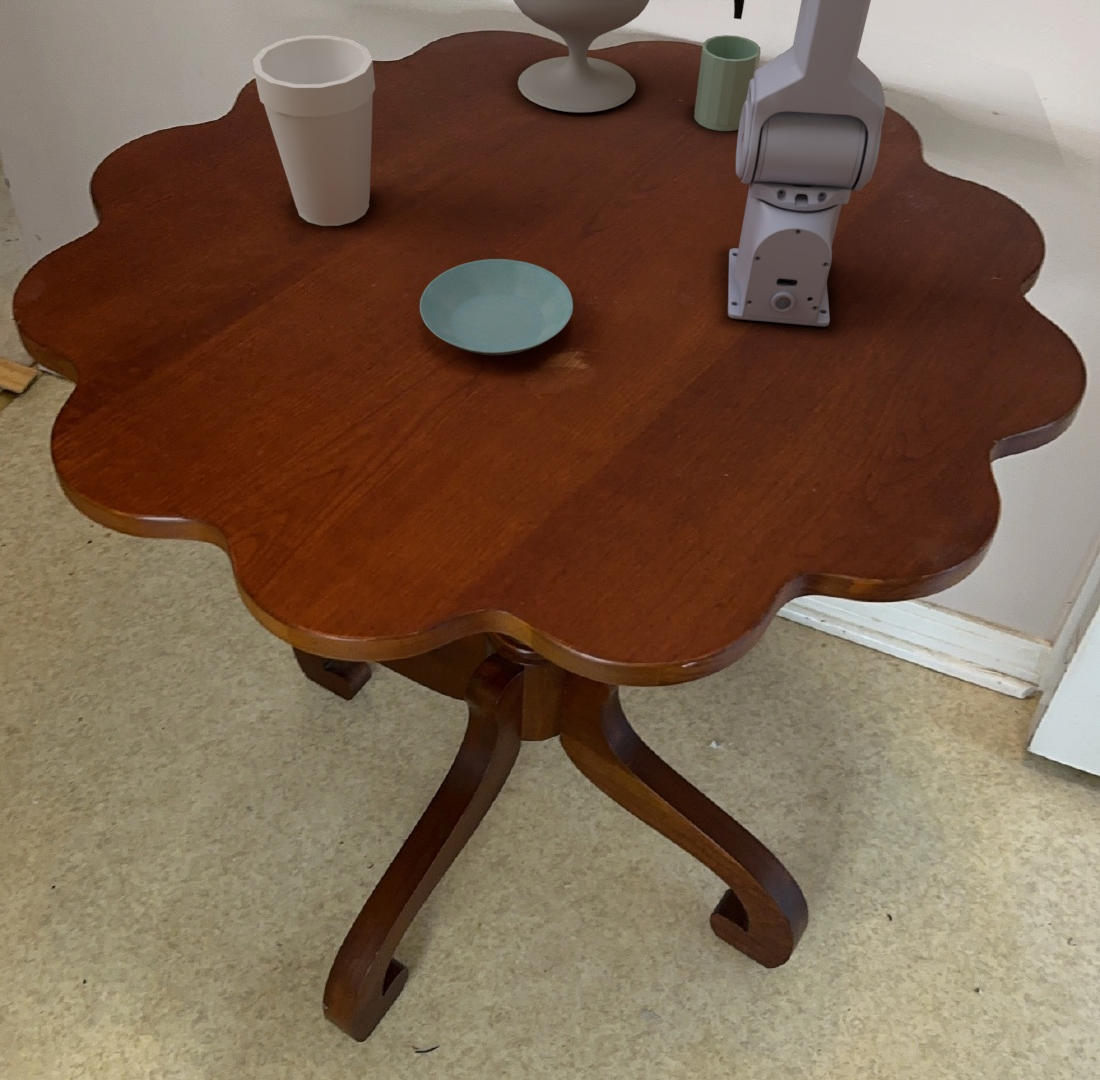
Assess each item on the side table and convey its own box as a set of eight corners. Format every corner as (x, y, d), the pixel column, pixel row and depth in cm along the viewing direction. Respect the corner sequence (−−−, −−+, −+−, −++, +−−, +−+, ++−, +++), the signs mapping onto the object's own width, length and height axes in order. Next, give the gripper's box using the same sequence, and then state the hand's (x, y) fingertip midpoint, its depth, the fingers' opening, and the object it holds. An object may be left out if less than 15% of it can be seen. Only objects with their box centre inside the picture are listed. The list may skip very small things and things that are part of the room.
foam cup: (331, 168, 101) (311, 25, 92) (408, 200, 98) (395, 55, 88) (256, 212, 96) (227, 65, 86) (335, 248, 92) (313, 99, 83)
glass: (749, 133, 107) (760, 62, 102) (693, 129, 108) (701, 58, 102) (748, 107, 111) (760, 37, 106) (694, 103, 111) (703, 33, 106)
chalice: (496, 63, 116) (494, -92, 105) (622, 52, 119) (633, -100, 108) (525, 127, 107) (527, -35, 96) (661, 113, 110) (678, -46, 98)
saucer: (519, 394, 80) (519, 370, 79) (390, 339, 84) (388, 315, 83) (599, 313, 87) (601, 289, 85) (477, 266, 91) (476, 242, 89)
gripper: (895, -155, 93) (859, 9, 103) (726, -169, 95) (706, -7, 105) (896, -128, 89) (858, 41, 99) (718, -143, 90) (698, 24, 100)
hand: (779, 19), depth 102 cm, fingers open, 7 cm apart
